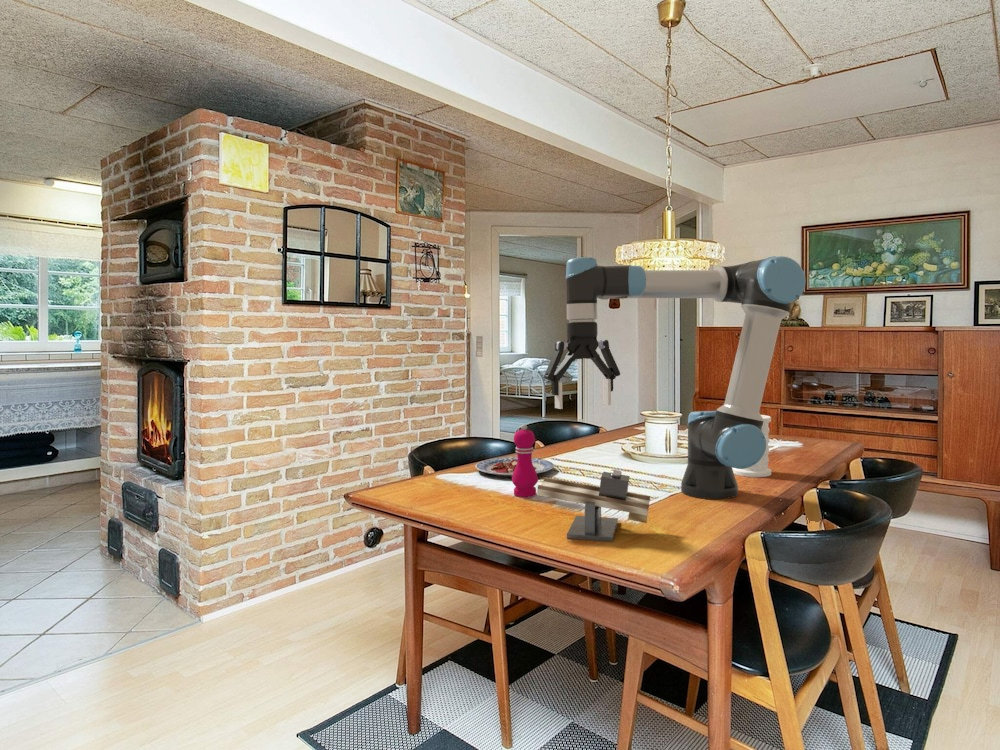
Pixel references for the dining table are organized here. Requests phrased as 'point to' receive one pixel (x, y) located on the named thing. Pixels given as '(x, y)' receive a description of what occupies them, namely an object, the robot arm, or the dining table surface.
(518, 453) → the pepper mill
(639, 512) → the beam
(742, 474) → the decorative container
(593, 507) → the stand
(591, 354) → the robot arm
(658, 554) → the dining table surface
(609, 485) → the block
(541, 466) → the ceramic plate
